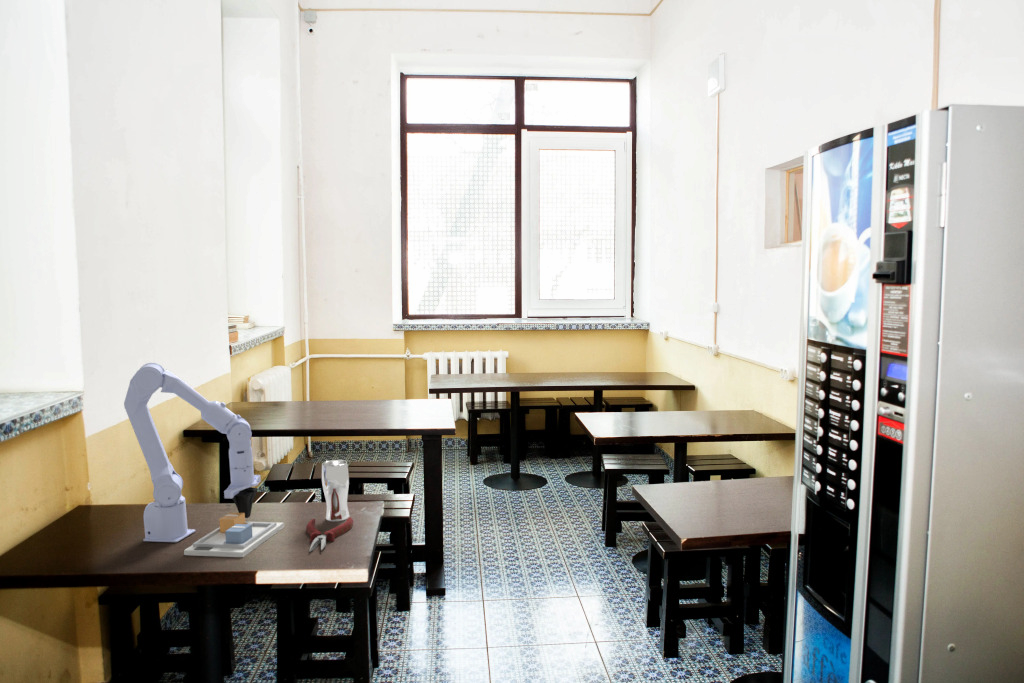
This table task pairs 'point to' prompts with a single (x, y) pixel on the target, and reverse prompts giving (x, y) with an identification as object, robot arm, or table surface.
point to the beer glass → (335, 489)
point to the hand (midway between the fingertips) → (245, 517)
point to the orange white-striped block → (231, 521)
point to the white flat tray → (218, 547)
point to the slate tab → (239, 534)
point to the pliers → (326, 533)
